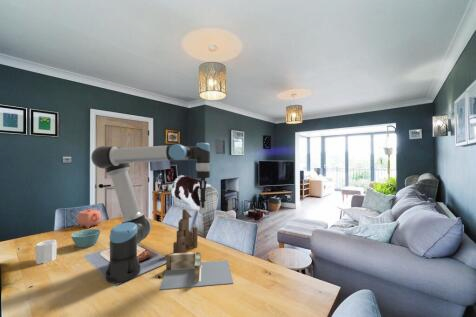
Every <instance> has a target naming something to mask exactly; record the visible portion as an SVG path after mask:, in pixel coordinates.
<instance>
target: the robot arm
mask: <svg viewBox="0 0 476 317" xmlns="http://www.w3.org/2000/svg"><path fill="white" fill-rule="evenodd" d="M210 148H211V145H210V143H209V142H197V143H196V145H194V146H186V145H182V144H179V143H177V144H175V143H174V144H172V145H171V144H170V145H157V146H156V145H155V146H154V145H152V146H151V145H149V146H137V147H135V146H134V147H119V146H109V145H108V146H107V145H102V146H98V147H97V148H95V149H94V150H93V151H92V153H91V162H92V164H93V165H94V166H95V167H97V168H99V169H104V170H105V173H106V174H107V175H108V176H110V178H111V180H112V185H113V188H114V191H115V195H116V197H117V201H118V205H119V208H120V211H121V213H122V214H121V215H122V218H123V219H121V223H119V224H116V225H114V226H113V227H112V229H111V230H110V233H109V262H108V264H107V267H106V269H105V270H106V271H105V275H104V278H105V280H106V281H107V282H109V283H122V282H125V281H129V280H132V279H133V278H135V277H137V276H139V274H140V273H141V269H142V268H141V264H140V261H139V258H138V244H140V243H141V242H142V241H143V240H144V239H146V238H147V236H148V235H149V234H150V233H151V228H152V224H151V221H150V220H149V219H148V218H146V216H145V213H143V212H141V209H140V206H139V204H138V200H137V197H136V193H135V190H134V188H133V184H132V181H131V176H130V174H129V171H130V169H131V167H130V164H136V163H148V162H164V161H165V162H166V161H195V162H196V164H195V170H196V171H195V172H196V173H195V177H196V178H197V179H200V180H199V181H198V182H199V183H198V184H199V190H200V199H199V203H200V204H199V206H200V208H199V211H200V212H199V213H200V214H206V202H207V199H206V190H207V183H208V182H207V180H206V179H209V178H210V176H211V172H210V169H211V168H210V167H211V166H212V165H211V149H210Z"/></svg>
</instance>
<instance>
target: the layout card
mask: <svg viewBox="0 0 476 317" xmlns="http://www.w3.org/2000/svg"><path fill="white" fill-rule="evenodd" d="M231 284H234V280H233V276H232V271H231V267H230V262H229V260H228V259H225V260H213V261H212V260H211V261H209V260H208V261H201V267H200V276H199V281H195V268H181V269H171V270H166V269H165V272H164V276H163V278H162V281H161V284H160V287H159V291H162V290H163V291H164V290H165V291H166V290H173V289H174V290H175V289H187V288H196V287H198V288H199V287H209V286H211V287H212V286H219V285H231Z"/></svg>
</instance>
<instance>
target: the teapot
mask: <svg viewBox="0 0 476 317" xmlns="http://www.w3.org/2000/svg"><path fill="white" fill-rule="evenodd" d="M101 223H102V214H101V211H100V210H97V209H92V208H88V209H87V210H83V211H79V212H78V213H77V218H76V224H77V226H79V227H80V228H84V227H85V228H86V229H89V228H88V227H90V228H91V227H92V226H94V225H97V226H99V224H101ZM83 226H84V227H83Z"/></svg>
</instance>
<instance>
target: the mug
mask: <svg viewBox="0 0 476 317" xmlns="http://www.w3.org/2000/svg"><path fill="white" fill-rule="evenodd" d="M57 244H58V243H57V240H56V239H48V240H43V241H40V242H38V243H36V244H35V247H34V252H35V263H36V264H37V265H42V264H41V263H45V264H47V262H48V263H51V262H53V261H55V260H56V259H57ZM50 261H51V262H50Z"/></svg>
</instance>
